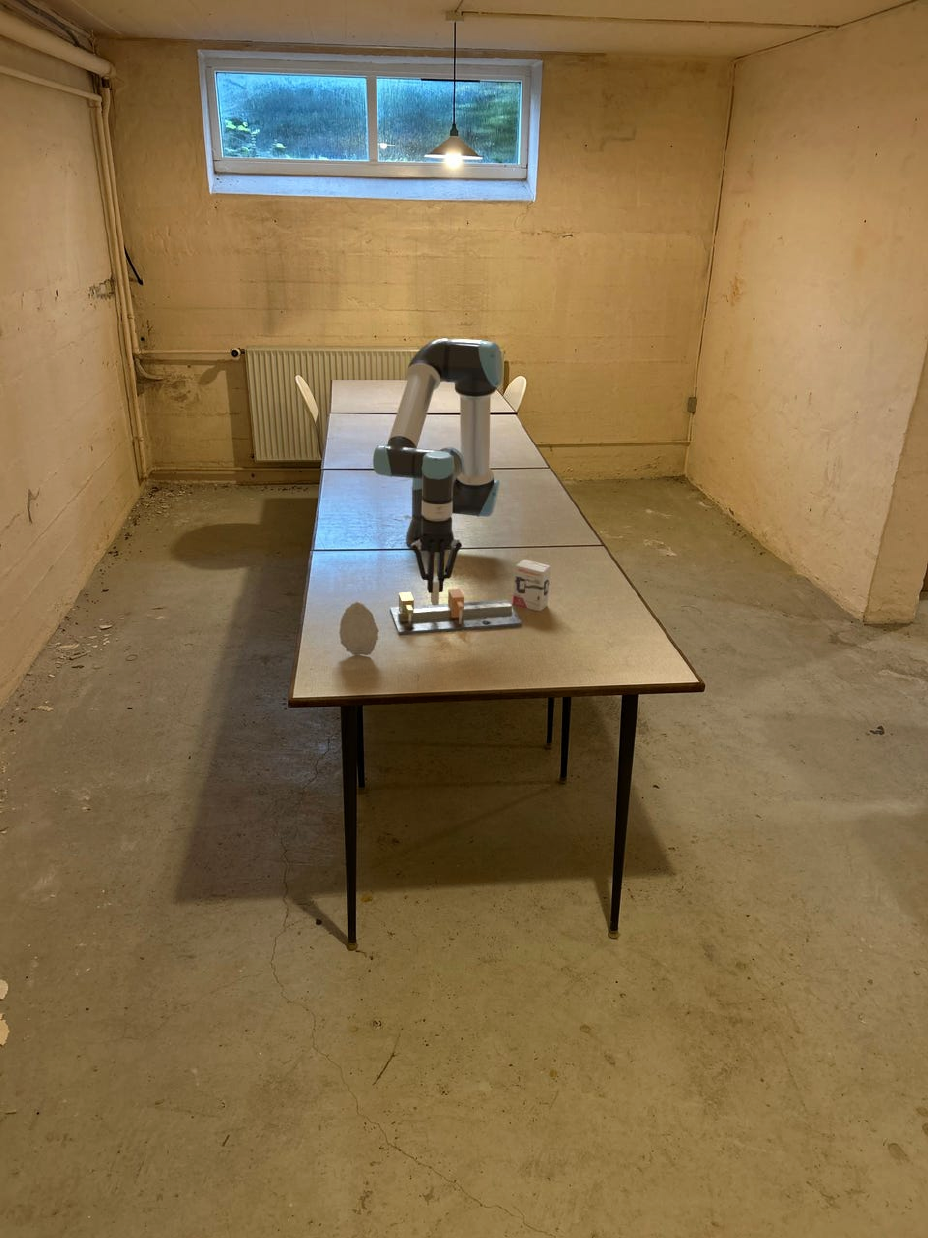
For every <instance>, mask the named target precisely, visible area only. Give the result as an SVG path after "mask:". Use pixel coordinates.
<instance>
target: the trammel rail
mask: <svg viewBox="0 0 928 1238" xmlns="http://www.w3.org/2000/svg"><path fill="white" fill-rule="evenodd" d="M414 606H415V599H414V597H413V595H412V592H411V591H402V592H398V607H399V610H398V619H399V621H402V622H404V621H409V625H408V627H409V628H410V627H411V621H413V620H419V619H433V618H447V617H451V608H450V607H441V608H426V609H414ZM512 608H513V604H511V602H509V603H499V604H485V605H470V606H464V611H463V616H475V615H489V614H503V613H512Z"/></svg>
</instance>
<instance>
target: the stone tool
mask: <svg viewBox="0 0 928 1238" xmlns="http://www.w3.org/2000/svg"><path fill="white" fill-rule="evenodd" d="M374 617H375V616H374V615H373V613H372V612H371V610H369V609H368V608H367V607H366V606H365V604H363V603H361V602H359V601H355V602H354V603H351V604H350V605H349V606H348V607H347V608H346V609H345V611H344V612H343V615H342V618H341V620H340V624H339V625H340V628H339V632H338V633H339V638H340V644H341V646H343V647H344V648H345V649H346V651H347V652H349V653H351V654H352V656H360V655H363V656H364V655H365V656H369V655H371V654H373V653H372V652H374V650H375V649H376V645H377V642H378V640H379V639H378V638H379V636H378V634H379V629H378V626H377V623H376V620H375V618H374Z"/></svg>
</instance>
